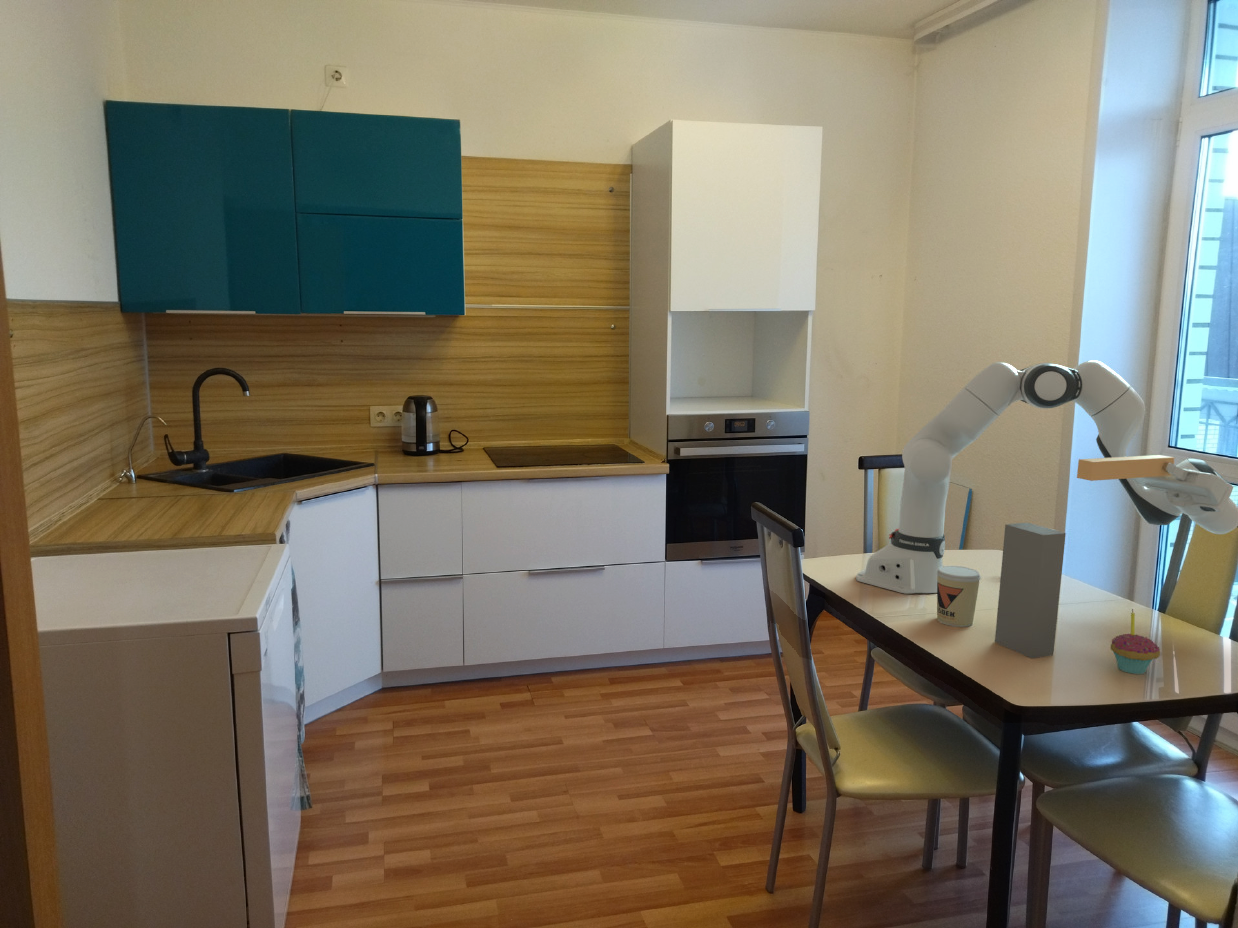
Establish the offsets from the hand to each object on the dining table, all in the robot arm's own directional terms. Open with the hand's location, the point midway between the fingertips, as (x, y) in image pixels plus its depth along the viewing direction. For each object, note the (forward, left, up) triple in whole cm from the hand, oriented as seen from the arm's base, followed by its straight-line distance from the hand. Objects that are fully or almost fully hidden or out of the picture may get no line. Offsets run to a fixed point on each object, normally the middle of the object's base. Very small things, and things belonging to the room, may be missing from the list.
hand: (1155, 463), depth 194 cm
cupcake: (+3, -26, -39) cm, 47 cm away
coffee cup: (-34, -20, -39) cm, 55 cm away
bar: (-4, -8, -2) cm, 9 cm away
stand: (-17, -28, -38) cm, 50 cm away
